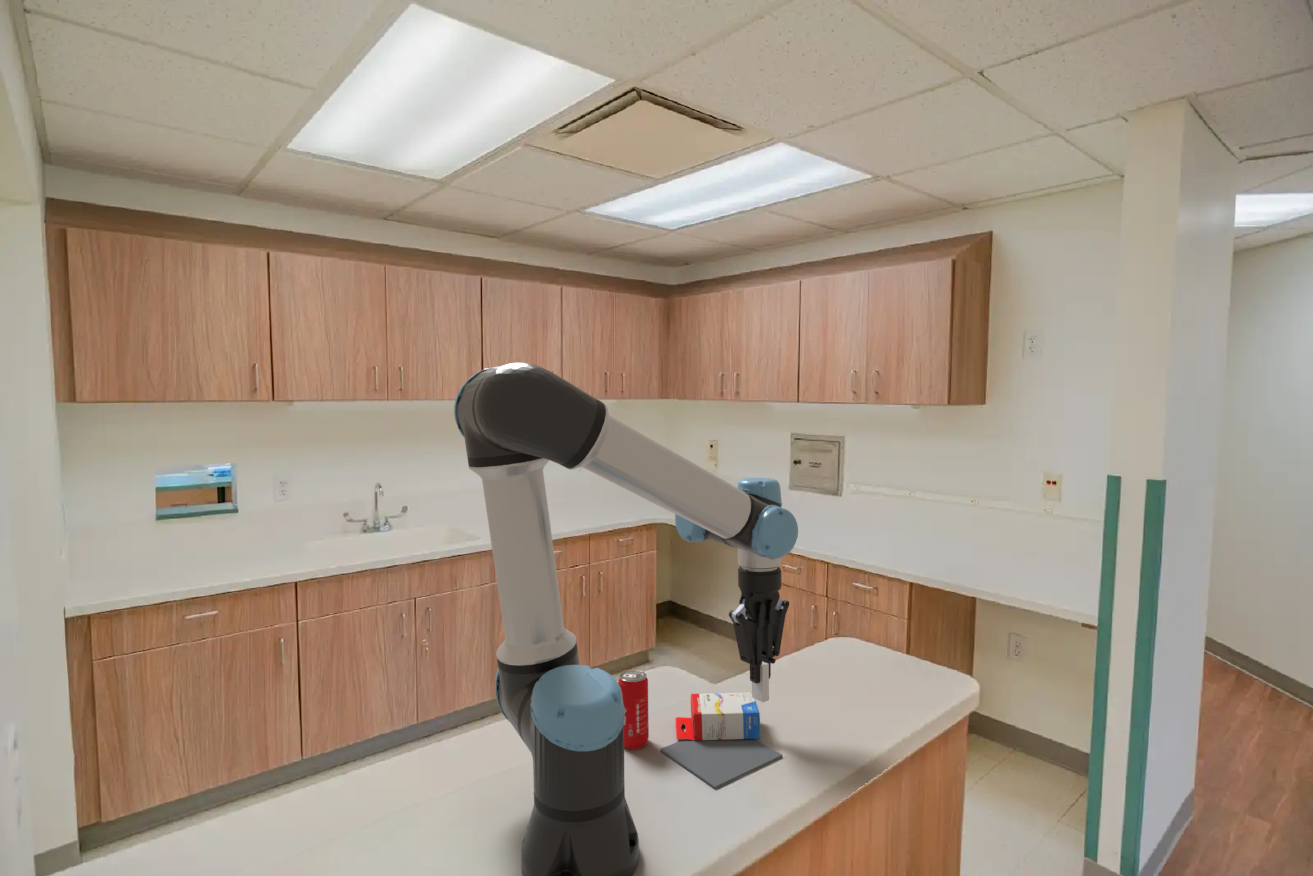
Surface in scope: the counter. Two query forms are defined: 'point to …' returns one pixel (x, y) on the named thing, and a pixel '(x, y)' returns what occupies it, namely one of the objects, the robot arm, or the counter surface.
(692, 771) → the mat
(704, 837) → the counter surface
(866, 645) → the counter surface
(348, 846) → the counter surface
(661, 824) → the counter surface
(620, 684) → the beverage can
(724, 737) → the ink box
